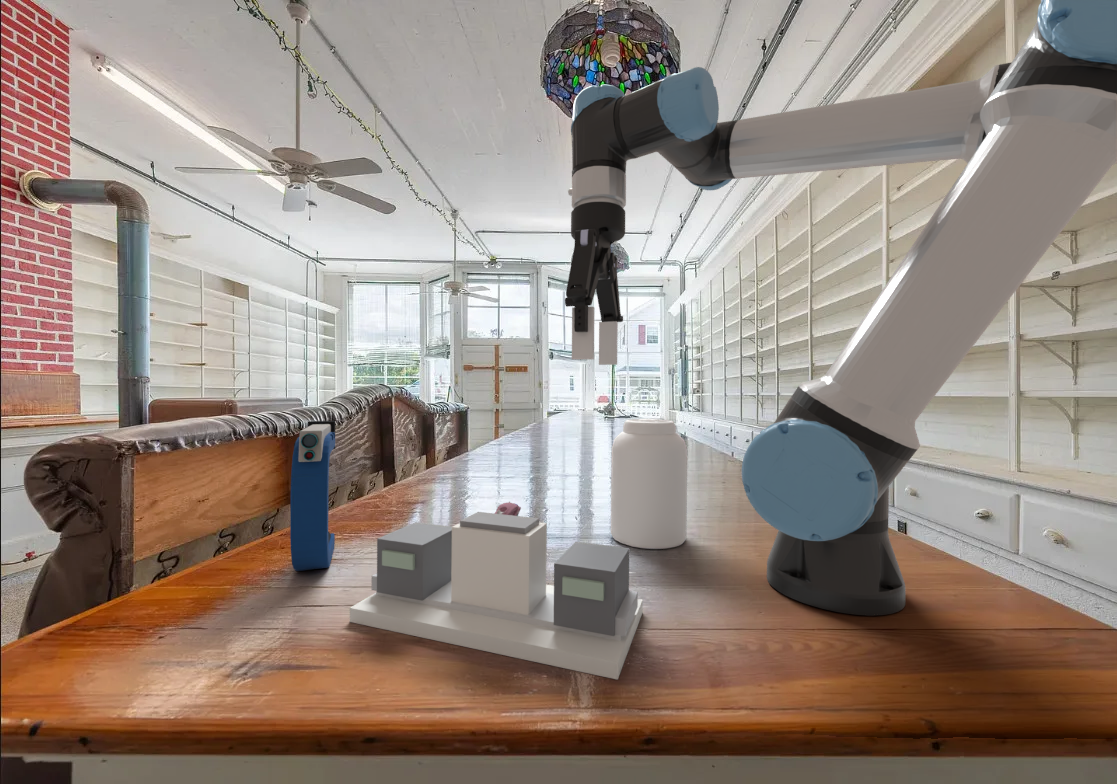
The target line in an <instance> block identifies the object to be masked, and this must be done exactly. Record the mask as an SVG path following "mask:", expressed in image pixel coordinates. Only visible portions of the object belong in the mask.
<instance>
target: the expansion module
mask: <svg viewBox="0 0 1117 784" xmlns="http://www.w3.org/2000/svg"><path fill="white" fill-rule="evenodd" d="M494 513H495V512H482V511H477V512H475V513H473V514H470V515H469V516H466V517H465V518H462V519H461V520H459V523H457V524H454V525H453V526H451V527H452V566H451V601H453V602H458V603H464V604H469V605H475V606H480V607H486V608H492V609H497V610H503V611H508V612H514V613H519V614H525V615H529V614H530V613H531V612H532V611H533V609H534V608H535V607H536V606H537V605H538V604H539V603H540V601H541V600H542V599H543V598H544V597H545V596H546V584H547V550H548V549H547V543H548V542H547V541H548V539H547V537H548V536H547V534H548V532H547V531H548V530H547V527H548V524H547V522H541V521H540V518H538V517H529V516H523V515H521V516H520V515H518V516H513V515H503V514H494Z"/></svg>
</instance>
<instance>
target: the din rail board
mask: <svg viewBox="0 0 1117 784" xmlns="http://www.w3.org/2000/svg"><path fill="white" fill-rule="evenodd" d="M452 527H453V526H451V525H450V526H449V525H441V524H433V523H425V522H417V521H416V522H412V523H411V524H408V525H406V526H403V527H401V528H399V529H397V530H394V531H393V532H390V533H387V534H385V535H383V536H381V537H377V539H376V543H377V544H376V573H374V574H372V575H371V591H375V592H374V593H373V594H371V595H369V596H367V597H366V598H364V599H363V600H360V601H359V602H357V603H355V604H354V605H352V606H351V607H349V623H354V624H358V625H362V626H368V627H372V628H377V629H381V630H386V631H389V632H395V633H399V634H405V635H409V636H415V637H418V638H423V639H428V640H432V641H436V642H440V643H445V644H451V645H455V646H458V647H459V646H461V647H465V648H470V649H474V650H479V651H484V652H488V653H493V654H497V655H501V656H502V655H503V656H507V657H511V658H514V659H519V660H523V661H529V662H533V663H538V664H543V665H549V666H552V667H557V668H561V669H562V668H563V669H565V670H571V671H576V672H580V673H585V674H590V675H594V676H598V677H599V676H600V677H604V678H609V679H612V680H619V677H620V675H621V673H622V669H623V666H624V664H625V661H626V659H627V655H628V653H629V651H630V649H631V644H632V642H633V639H634V637H635V634H636V632H637V629H638V626H639V623H640V620H641V618H642V615H643V609H644V608H643V607H644V606H643V605H644V603H643V602H644V601H643V599H642V598H638V597H639V594H638V593H639V592H638V591H635V590H630V547H622V546H616V545H607V544H599V543H591V542H581V541H580V542H579V541H575V542H573V544H572V545H570V547H569V548H567V550H566V551H565V552H564V553H563V554H561V556H559V558H558V559H557V560H556V561H555V562H554V564H553V585H551V584H547V583H546V596H545V597H544V598H543V599H542V600H541V601H540V603H539V604H538V605H537V606H536V607H535V608H534V609H533V611H532V612H531V613H530V614H529V615H525V614H519V613H514V612H508V611H503V610H497V609H492V608H486V607H480V606H475V605H469V604H464V603H458V602H453V601H451V566H452Z"/></svg>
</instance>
